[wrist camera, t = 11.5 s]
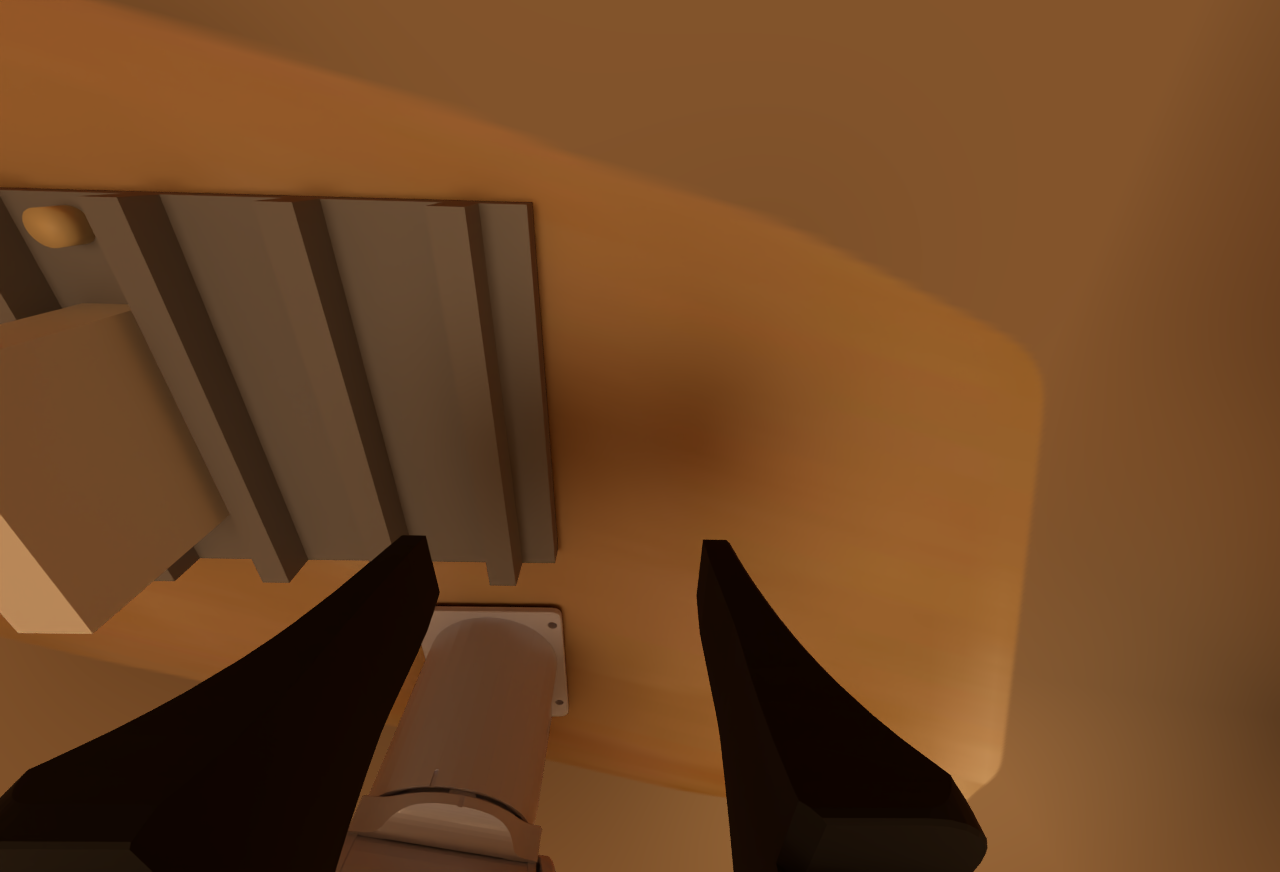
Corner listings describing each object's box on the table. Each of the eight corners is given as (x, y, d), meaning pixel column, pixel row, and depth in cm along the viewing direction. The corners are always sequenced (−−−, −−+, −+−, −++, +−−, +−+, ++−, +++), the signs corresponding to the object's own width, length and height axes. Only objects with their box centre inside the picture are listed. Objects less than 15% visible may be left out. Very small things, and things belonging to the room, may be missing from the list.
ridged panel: (558, 549, 25) (550, 586, 23) (158, 543, 25) (112, 580, 22) (532, 202, 17) (517, 208, 15) (-55, 185, 17) (-157, 189, 15)
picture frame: (242, 503, 22) (92, 633, 16) (185, 502, 22) (14, 633, 16) (150, 304, 18) (-104, 379, 12) (79, 303, 18) (-214, 377, 12)
